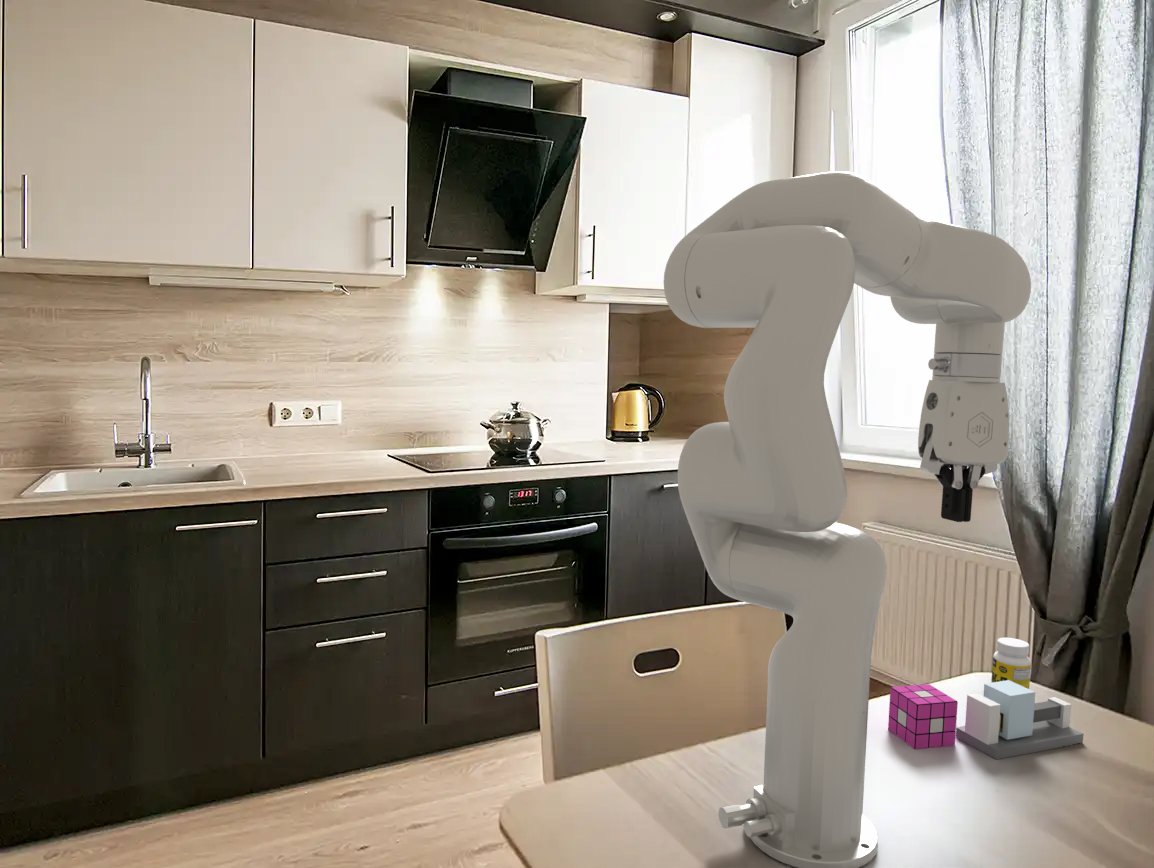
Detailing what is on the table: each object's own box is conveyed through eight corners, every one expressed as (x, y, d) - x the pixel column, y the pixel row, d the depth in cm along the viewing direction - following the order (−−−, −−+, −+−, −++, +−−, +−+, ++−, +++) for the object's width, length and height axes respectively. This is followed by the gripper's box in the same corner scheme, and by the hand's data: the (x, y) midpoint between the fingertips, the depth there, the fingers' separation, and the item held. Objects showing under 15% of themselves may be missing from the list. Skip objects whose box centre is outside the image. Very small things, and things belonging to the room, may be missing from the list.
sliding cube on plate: (996, 759, 102) (999, 710, 102) (955, 736, 108) (958, 690, 108) (1082, 742, 107) (1086, 696, 107) (1039, 721, 113) (1042, 677, 113)
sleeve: (1007, 739, 104) (1010, 696, 104) (981, 726, 108) (984, 683, 108) (1032, 735, 106) (1035, 692, 105) (1005, 721, 109) (1008, 680, 109)
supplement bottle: (983, 693, 122) (987, 636, 122) (1014, 693, 123) (1018, 635, 122) (1003, 707, 118) (1007, 648, 117) (1035, 706, 118) (1040, 647, 117)
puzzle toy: (955, 745, 106) (958, 701, 105) (914, 749, 105) (917, 704, 104) (926, 726, 112) (929, 683, 111) (887, 729, 110) (889, 686, 110)
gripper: (939, 367, 98) (927, 527, 99) (1039, 372, 103) (1027, 524, 104) (894, 367, 105) (884, 515, 106) (990, 371, 110) (979, 513, 111)
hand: (955, 519), depth 105 cm, fingers closed
